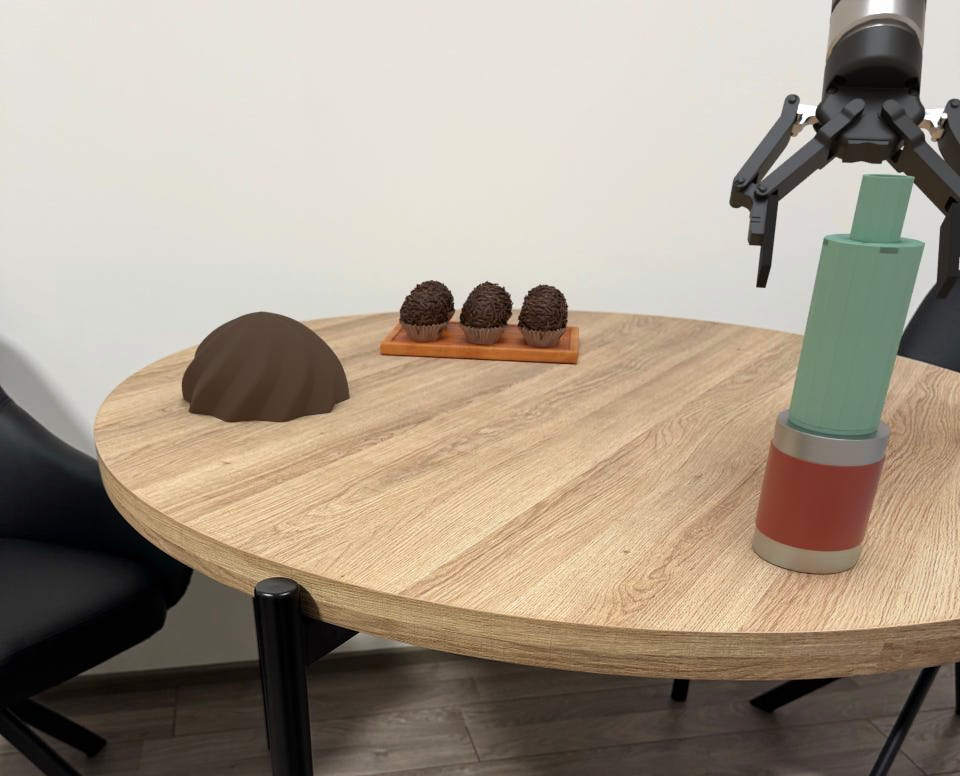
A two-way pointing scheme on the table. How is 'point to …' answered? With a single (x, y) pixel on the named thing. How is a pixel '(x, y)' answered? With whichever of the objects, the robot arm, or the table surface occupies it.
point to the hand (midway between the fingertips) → (853, 283)
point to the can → (817, 497)
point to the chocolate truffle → (484, 325)
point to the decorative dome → (263, 371)
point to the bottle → (857, 314)
